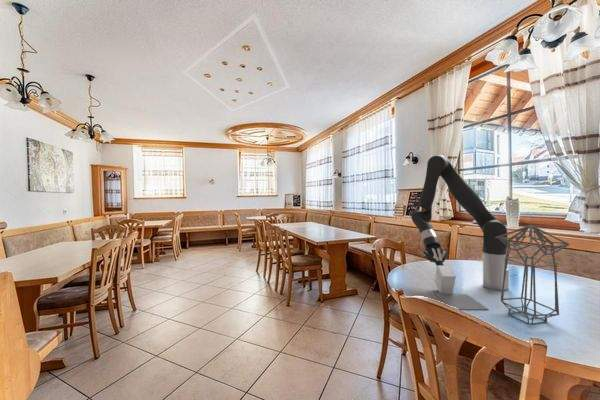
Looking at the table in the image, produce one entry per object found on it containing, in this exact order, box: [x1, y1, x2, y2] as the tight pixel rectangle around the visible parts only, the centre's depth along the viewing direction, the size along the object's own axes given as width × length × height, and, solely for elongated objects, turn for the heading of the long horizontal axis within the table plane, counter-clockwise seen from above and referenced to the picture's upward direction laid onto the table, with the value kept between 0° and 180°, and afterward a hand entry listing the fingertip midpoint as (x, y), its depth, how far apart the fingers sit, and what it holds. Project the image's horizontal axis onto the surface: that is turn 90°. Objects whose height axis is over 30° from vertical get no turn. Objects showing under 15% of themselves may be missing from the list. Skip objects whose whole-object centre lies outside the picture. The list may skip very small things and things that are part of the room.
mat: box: [434, 293, 489, 311], centre depth 108 cm, size 14×15×1 cm
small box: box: [434, 265, 457, 294], centre depth 118 cm, size 8×6×10 cm
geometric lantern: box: [496, 225, 570, 325], centre depth 92 cm, size 16×16×35 cm
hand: (441, 269), depth 121 cm, fingers closed
